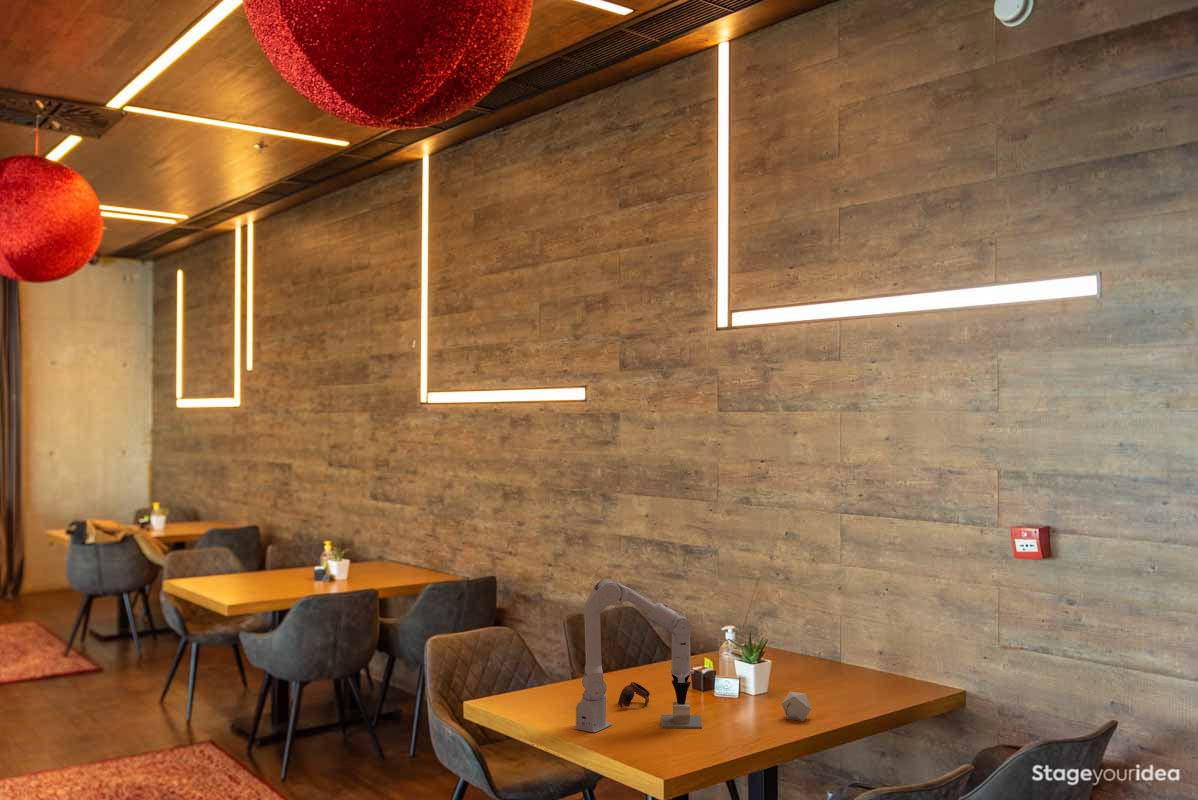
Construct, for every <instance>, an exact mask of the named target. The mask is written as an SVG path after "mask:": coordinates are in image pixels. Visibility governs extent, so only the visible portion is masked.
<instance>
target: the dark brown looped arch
mask: <svg viewBox="0 0 1198 800" xmlns="http://www.w3.org/2000/svg"><path fill="white" fill-rule="evenodd" d="M635 694H636V695H638V696H639V697H642V698H643V699H645V700H644V705H643V706H644V708H645V707H647V706H648V705H649V702H650V698H649V697H650V695H651V693H650V691H648V689H646V688H645V687H644V686H642V685H640V684H639V683H637V682H635V681H631V682H630V684H628V685H625V687H624V688H623V689H621V692H620V695H619V697H618V702H617V704H618V705H619V707H620V708H623V706H625V707H630V705H631V702H632V701H633V699H634V697H635Z"/></svg>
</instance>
